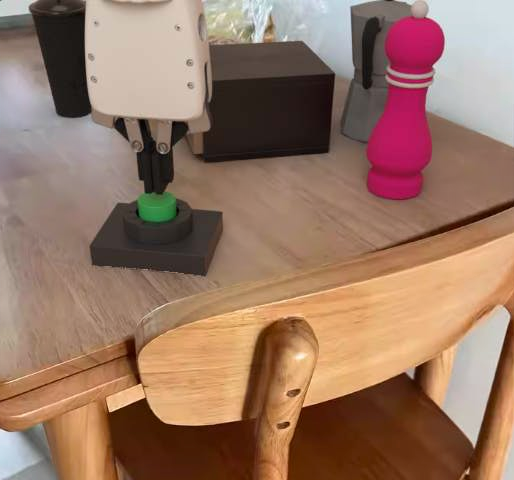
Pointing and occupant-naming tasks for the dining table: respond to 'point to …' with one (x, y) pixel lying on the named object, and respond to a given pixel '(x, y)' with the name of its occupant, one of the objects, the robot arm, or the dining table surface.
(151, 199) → the button
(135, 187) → the dining table surface
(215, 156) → the cabinet
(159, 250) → the control block
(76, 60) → the drinking cup
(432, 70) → the pepper mill
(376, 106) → the coffeepot
